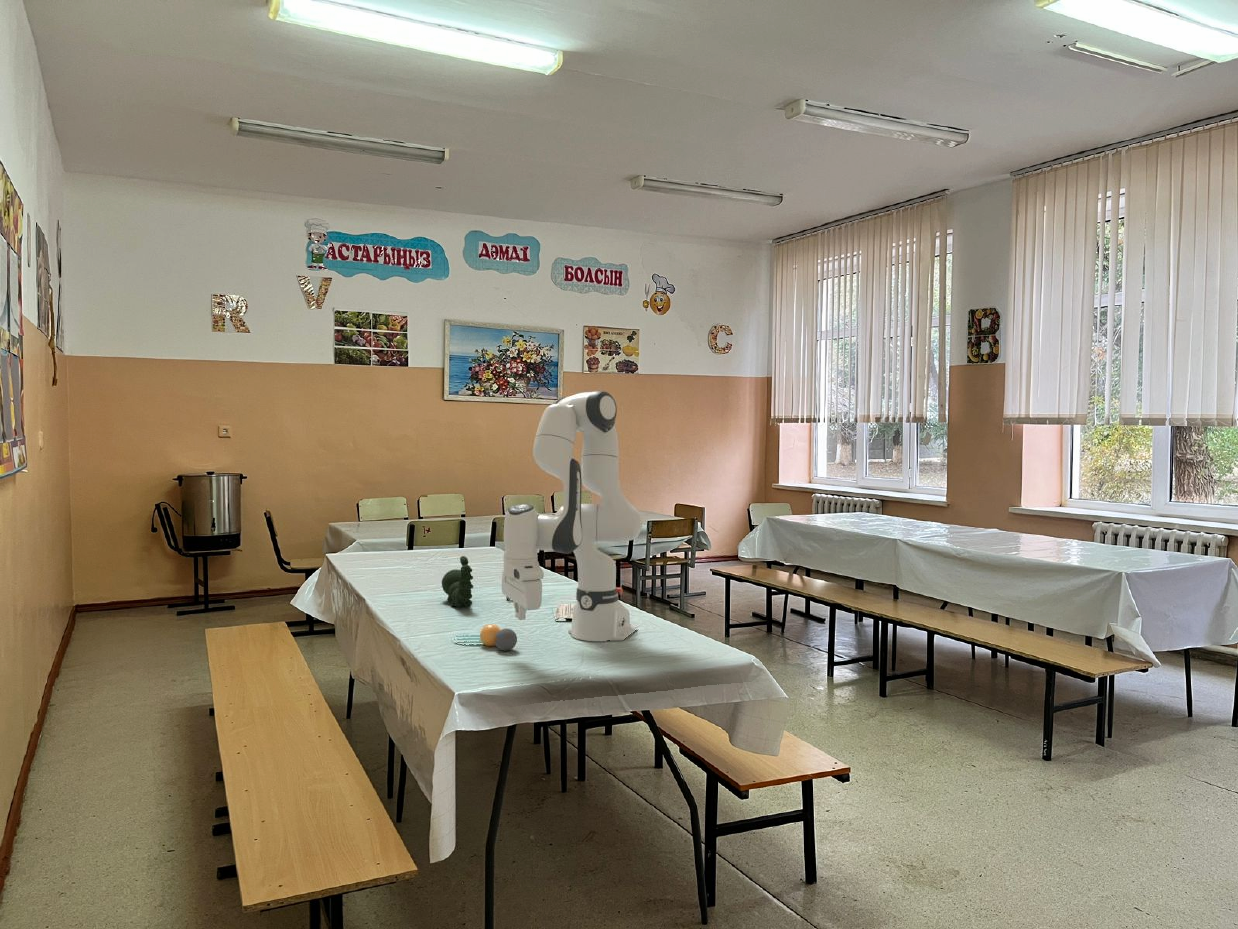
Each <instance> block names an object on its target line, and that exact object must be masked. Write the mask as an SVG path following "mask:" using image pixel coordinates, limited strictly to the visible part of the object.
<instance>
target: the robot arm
mask: <svg viewBox="0 0 1238 929" xmlns="http://www.w3.org/2000/svg"><path fill="white" fill-rule="evenodd" d="M617 412H618V411H617V402H616V401H615V399H614V397H613V396H612V394H610V393H609V392H607V391H603V390H593V391H586V392H585V391H584V392H579V393H576V394H572V395H569V396H567V397H565V396H563V397H561V398H559V399H557V400H555V401H554V402H553V403H552V404H550V405H548V406H547V407H546V408H545V410H543V414H542V416H541V418H540V420H539V423H538V427H537V430H536V434H535V437H534V441H533V442H534V443H533V446H532V448H533V449H532V457H533V459H534V461H535V463H536V465H537V466H538V467H539V468H540V469H541V470H542V471H544V472H545V473H547V474H549V475H551V476H553V477H555V478H557V479H559V480H561V482H562V486H563V500H562V503H563V504H562V506H560V508H558V509H557V510H556V513H555V515H554V514H543V513H538V512H537V511H536V508H535V506H534V505H532V504H527V503H520V504H514V505H511V506H509V507H508V508H507V510H506V512H505V516H504V522H503V542H504V552H503V570H502V574H501V592H502V594H503V595H504V596H505V597H506V596H507V597H508V598H510V600H511V601H513V603H512V605H513V607H514V612H515V613H514V614H515V618H516V619H518V620H519V621H525V620H526V613H527V611H535V610H536V611H537V610H540V608H541V605H542V600H543V599H542V598H543V582H542V580H543V579H544V574H545V573H544V570H543V569H542V567H541V566H540V563H539V561H538V551H537V550H539V551H548V552H555V553H559V554H565V555H569V554H571V553H572V552H573V554H574V556H575V559H576V564H577V578H578V579H577V583H578V584H577V587H576V592H575V595H576V597H575V598H576V599H575V600H576V601H577V602H576V603H574V604H575V605H574V607H573V616H572V620H571V627H569V628H567V629H568V631H567V632H568V633H569V634H571V636H572V637H573V638H575V639H576V640H580V641H587V642H607V640H610V641H624V639H625V638H626V637H627V638H628V635H629V634H630V633H632V632H633V631H634V630H635V629H636V628H637V629H638V626H637V625H634V624H632V623H630V621H631V620H630V617H631V616H630V611H629V609H628V608H626V606H625V605H623V603H622V602H621V601H619V599H620V598H619V595H622V594H623V587H617V586H616V583H617V582H616V579H617V566H616V562H615V560H614V559H613V558H612V557H611V556H610V555H609V554H607V553H604V552H602V551H600V550H599V549H598V548H597V547H596V543H598V542H601V543H602V542H608V543H621V542H622V543H623V542H627V541H634V540H635V539H636V538H638V536H639V535H640V534H641V531H642V527H643V520H642V515H641V513H640V511H639V510H638V509H637V508H636V507H635V506H634V505H632V504H631V502H629V501H628V499H627V498H626V497H625V494H624V493H623V491H622V489H621V486H620V485H621V484H620V475H619V474H620V473H619V471H620V470H619V468H620V467H619V466H620V465H619V464H620V463H619V461H620V456H619V455H620V454H619V453H620V452H619V451H620V449H619V448H620V447H619V439H618V438H619V437H618V431H617V428H616V426H615V423H616V418H617ZM579 432H580V433H581V436H582V439H583V440H582V447H581V448H582V450H581V462H579V461H578V460H577V459H575V456H574V447H575V442H576V441H575V440H576V434H577V433H579ZM580 463H581V464H580ZM582 485H583V486H582ZM582 487H584V488H585V489H586V490H588V491H589V492H592V493H593V494H595V495H598V496H599V497H600V499H601V503H582ZM632 634H633V633H632ZM627 638H626V639H627ZM626 639H625V640H626Z"/></svg>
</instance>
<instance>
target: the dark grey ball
mask: <svg viewBox="0 0 1238 929" xmlns="http://www.w3.org/2000/svg"><path fill="white" fill-rule="evenodd" d="M495 643H496V645H495V646H496V647H497V648H498V649H500V650H501V651H503V652H504V651H505V652H507V651H511V650H512V649H514V648H515V646H516V645H517V643H518V636H517V634H516V632H515V631H514V630H513V629H511V628H501V629H500V631H499V632H498V633H497V634H496V637H495Z"/></svg>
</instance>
